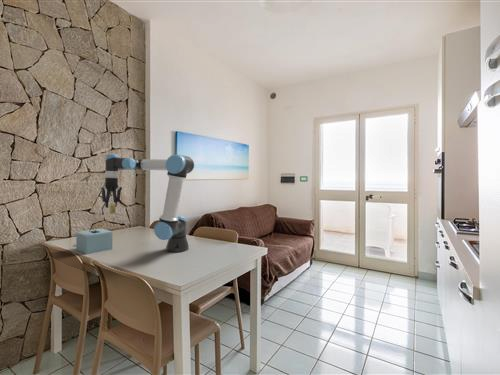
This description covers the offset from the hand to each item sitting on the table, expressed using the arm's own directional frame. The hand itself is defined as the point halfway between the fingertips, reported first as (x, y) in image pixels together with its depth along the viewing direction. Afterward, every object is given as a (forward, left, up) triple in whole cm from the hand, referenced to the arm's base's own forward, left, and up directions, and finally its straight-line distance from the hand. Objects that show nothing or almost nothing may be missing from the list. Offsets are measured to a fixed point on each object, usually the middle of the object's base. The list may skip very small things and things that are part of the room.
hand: (111, 212), depth 175 cm
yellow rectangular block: (0, 0, -1) cm, 1 cm away
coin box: (+9, +7, -26) cm, 28 cm away
